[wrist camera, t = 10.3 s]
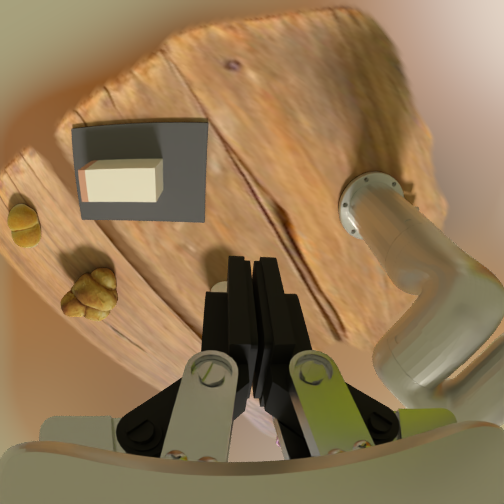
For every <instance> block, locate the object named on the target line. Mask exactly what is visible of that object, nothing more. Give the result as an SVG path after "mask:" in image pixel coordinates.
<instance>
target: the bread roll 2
mask: <svg viewBox="0 0 504 504" xmlns="http://www.w3.org/2000/svg"><path fill="white" fill-rule="evenodd" d="M117 301H118V294H117V291H116V278H115V275H114V273H113V272H112V271H111V270H110V269H108V268H97V269H95V270H94V271H92V273H85V274H83V275H82V276H81V277H80V278H79V279H78V280H77V282H76V283H75V284H74V285H73V287H72V288H71V290H70V291H69V292H67V294H66V295H65V296H64V297H63V298H62V300H61V309H62V311H63V313H64V314H65V315H67V316H70V317H81V316H84V317H85V318H87V319H90V320H92V321H101V320H103V319H104V318H106V317H107V316H108V315H109V313H110V310H111V309H113V308H114V307H115V305H117V304H116V303H117Z"/></svg>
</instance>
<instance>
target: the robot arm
mask: <svg viewBox="0 0 504 504" xmlns="http://www.w3.org/2000/svg"><path fill="white" fill-rule="evenodd" d="M338 212H339V218H340V221H341V224H342V225H343V227H344V228H345V230H346V231H347V232H348V233H349V234H350V235H352V236H354V237H355V238H358V239H362V240H364V241H365V242H366V244H367V245H368V247H369V248H370V249H371V251H372V252H373V254H374V255H375V257H376V258H377V260H378V261H379V262H380V264H381V265H382V267H383V268H384V270H385V271H386V273H387V274H388V276H389V277H390V279H391V280H392V282H393V283H394V284H395V285H396V286H397V287H398V288H399V289H401V290H402V291H404V292H406V293H409V294H413V295H418V296H419V297H418V298H417V299H416V300H415V302H414V303H413V304H412V306H411V307H410V308H409V309H408V310H407V311H406V312H405V314H404V315H403V316H402V317H401V318H400V319H399V320H398V321H397V322H396V323H395V324H394V325H393V326H392V327H391V328H390V329H389V330H388V331H387V332H386V334H385V335H384V336H383V337H382V338H381V339H380V340H379V341H378V343H377V344H376V346H375V348H374V351H373V355H372V360H373V366H374V369H375V371H376V373H377V375H378V377H379V378H380V380H381V381H382V382H383V384H384V385H385V386H386V387H387V389H388V390H389V391H390V392H391V393H392V394H393V395H394V396H395V397H396V398H397V399H398V400H399V401H400V402H401V403H402V404H403V405H404V406H405V407H406V408H407V409H398V410H397V411H392V410H391V409H390V408H388V407H387V406H385V405H383V404H381V403H380V402H378V401H376V400H375V399H373V398H371V397H369V396H368V395H366V394H364V393H362V392H361V391H359V390H357V389H356V388H354V387H352V386H351V385H349V384H347V383H346V382H345V381H344V379H343V377H342V375H341V373H340V371H339V369H338V367H337V365H336V364H335V362H334V361H333V359H332V358H330V357H329V356H328V355H327V354H324V353H322V352H320V351H315V350H312V347H311V343H310V340H309V336H308V332H307V328H306V324H305V321H304V317H303V313H302V310H301V306H300V302H299V299H298V296H297V295H296V294H284V290H283V285H282V281H281V277H280V272H279V268H278V264H277V259H276V258H271V257H260V261H254V266H253V275H251V265H250V261H244V256H229V260H228V278H227V292H206V296H205V308H204V320H203V334H202V348H201V352H199V353H197V354H195V355H194V356H192V357H191V358H190V359H189V360H188V362H187V364H186V366H185V370H184V373H183V377H182V378H180V379H179V380H177V381H176V382H175V383H173V384H172V385H170V386H169V387H167V388H166V389H164V390H163V391H161V392H160V393H158V394H157V395H155V396H154V397H152V398H151V399H149V400H148V401H146V402H144V403H143V404H141V405H140V406H138V407H137V408H135V409H134V410H132V411H130V412H129V413H128V414H126V415H125V416H124V417H122V418H112V417H111V416H54V417H50V418H48V419H47V420H45V421H44V423H43V424H42V426H41V429H40V436H39V441H32V442H25V443H21V444H17V445H15V446H12V447H10V448H9V449H8V450H7V451H6V452H5V453H4V454H3V456H2V457H1V459H0V504H504V430H503V429H502V428H501V427H500V426H501V425H503V424H504V333H503V334H501V335H500V336H499V337H498V338H496V339H495V340H494V341H493V342H492V343H491V344H490V345H489V346H488V347H487V348H486V349H485V350H484V351H483V352H482V353H481V354H480V355H479V356H478V357H477V358H476V359H475V360H474V361H473V362H472V363H471V364H469V366H467V367H466V368H465V369H464V370H463V371H462V372H461V373H460V374H458V375H457V376H456V377H455V378H453V379H449V378H448V377H449V376H450V375H451V374H452V373H453V372H454V371H455V370H457V369H458V368H459V367H460V366H461V365H463V364H464V363H465V362H466V361H467V360H468V359H469V358H470V357H471V356H472V355H473V354H474V353H475V352H476V351H477V350H478V349H479V348H480V347H481V346H482V345H483V344H484V343H485V342H486V341H487V340H488V339H489V338H490V336H491V335H492V334H493V333H494V331H495V330H496V328H497V327H498V326H499V324H500V323H501V320H502V319H503V317H504V287H503V285H502V283H501V282H500V281H499V279H498V278H497V277H496V276H495V275H494V274H493V273H492V272H491V271H490V270H489V269H487V268H486V267H485V266H484V265H482V264H481V263H479V262H478V261H476V260H475V259H474V258H472V257H471V256H470V255H468V254H467V253H466V252H465V251H463V250H462V249H461V248H459V247H458V246H457V245H456V244H455V243H454V242H452V241H451V240H450V239H449V238H448V237H447V236H446V235H445V234H444V233H443V232H442V231H441V230H439V229H438V228H437V227H436V226H435V225H434V224H433V223H432V222H431V221H430V220H429V219H428V218H426V217H425V216H424V215H423V214H422V213H421V212H420V211H419V208H418V207H415V206H413V205H412V204H411V203H409V202H408V201H407V200H406V199H405V198H404V193H403V190H402V188H401V186H400V184H399V183H398V182H397V181H396V180H395V179H394V178H393V177H391V176H390V175H388V174H386V173H383V172H378V171H377V172H368V173H364V174H362V175H360V176H358V177H357V178H355V179H354V180H352V181H351V182H350V183H349V184H348V186H347V187H346V188H345V190H344V191H343V193H342V196H341V198H340V202H339V208H338ZM252 385H253V396H254V398H259V401H260V407H264V408H265V411H266V412H268V413H269V414H270V415H272V417H273V423H274V426H275V430H276V433H277V436H278V440H279V443H280V446H281V449H282V453H283V456H284V459H285V460H280V461H264V462H228V456H229V449H230V442H231V435H232V428H233V421H234V420H235V419H236V418H237V417H238V416H239V415H240V414H242V413H243V412H244V411H245V407H246V401H247V398H249V397H250V391H251V386H252Z"/></svg>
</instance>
